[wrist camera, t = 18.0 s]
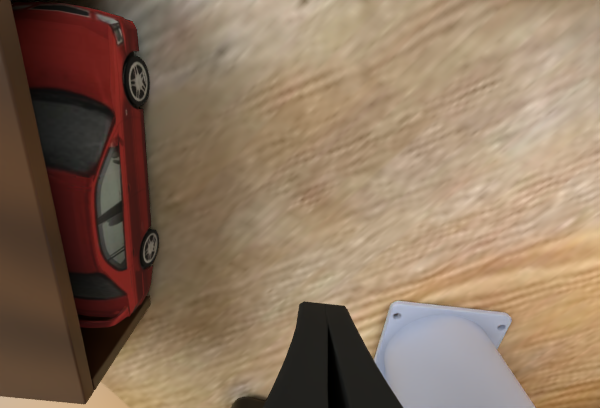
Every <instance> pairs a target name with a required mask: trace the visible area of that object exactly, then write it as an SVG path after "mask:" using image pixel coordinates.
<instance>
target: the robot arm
mask: <svg viewBox="0 0 600 408" xmlns="http://www.w3.org/2000/svg"><path fill="white" fill-rule="evenodd" d="M396 313H399V314H398V315H394V314H396ZM511 321H512V319H511V317H510V316H509V315H508V314H507V313H505V312H497V311H488V310H478V309H469V308H460V307H451V306H442V305H433V304H424V303H415V302H406V301H395V302H393V303H392V304H391V305H390V308H389V311H388V315H387V318H386V321H385V324H384V328H383V331H382V334H381V338H380V341H379V344H378V348H377V351H376V354H375V357H374V360H373V358H372V356H371V355H370V353H369V351H368V349H367V348H366V346H365V344H364V342H363V340H362V338H361V336H360V334H359V333H358V331H357V329H356V327H355V325H354V323H353V321H352V319H351V316H350V314H349V312H348V310H347V309H346V307H345V306H339V305H330V304H321V303H312V302H302V303H301V304H300V305H299V311H298V318H297V324H296V329H295V332H294V336H293V339H292V342H291V344H290V347H289V350H288V353H287V355H286V358H285V361H284V363H283V365H282V368H281V370H280V372H279V374H278V377H277V379H276V381H275V383H274V385H273V388H272V390H271V392H270V394H269V396H268V398H267V400H266V402H265V404H264V406H263V408H536V407H535V406H534V404H533V403H532V401H531V400H530V398H529V397H528V395H527V394H526V392H525V391H524V389H523V388H522V386H521V385H520V383H519V382H518V380H517V379H516V377H515V376H514V374H513V373H512V371H511V370H510V368H509V367H508V365H507V364H506V362H505V361H504V359H503V358H502V356H501V355H500V353H499V352H498V350H497V349H498V347H499V345H500V343H501V341H502V339H503V337H504V335H505V333H506V331H507V329H508V327H509V326H510V324H511ZM499 325H500V326H499Z"/></svg>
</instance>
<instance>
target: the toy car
mask: <svg viewBox="0 0 600 408" xmlns="http://www.w3.org/2000/svg"><path fill="white" fill-rule="evenodd" d="M12 10H13V15H14V19H15V24H16V29H17V33H18V38H19V43H20V47H21V52H22V57H23V61H24V66H25V71H26V76H27V80H28V85H29V90H30V94H31V99H32V104H33V108H34V113H35V118H36V122H37V127H38V132H39V136H40V141H41V146H42V151H43V155H44V160H45V165H46V169H47V174H48V179H49V183H50V188H51V193H52V197H53V202H54V207H55V211H56V216H57V221H58V226H59V230H60V235H61V240H62V244H63V249H64V254H65V258H66V263H67V268H68V272H69V277H70V282H71V286H72V291H73V296H74V301H75V305H76V310H77V314H80V315H86V316H96V317H114V318H112V319H110V320H107V321H83V320H79V324H80V327H83V328H103V327H111V326H114V325H116V324H118V323H119V322H121V321H122V320H123V319H125V318H126V317H130V315H131V313H133V312H134V311H135V310H136V308H137V307H138V305H141V304H142V302H143V300H144V299H145V297H146V295H147V293H148V292H149V289H150V285H151V278H152V268H153V265H152V266H151V267H150V265H151V264H152V263H153V261H154V259H155V257H156V255H157V251H158V246H159V237H158V233H157V231H156V230H154V229H150V228H149V227H150V226H151V215H150V201H149V186H148V172H147V157H146V143H145V128H144V114H143V109H139V106H141V105H143V104H144V103H145V102H146V100H147V97H148V94H149V75H148V70H147V67H146V65H145V63H144V61H143V60H142V59H141V58H139V57H136V56H134V51H139V47H138V37H137V29H136V27H135V25H134V23H133V21H130V20H126V19H124V18H123V17H121V16H117V15H114V14H110V13H107V12H103V11H100V10H96V9H92V8H87V7H82V6H77V5H72V4H66V3H51V2H14V3H13V4H12ZM149 267H150V268H149ZM148 268H149V269H148Z"/></svg>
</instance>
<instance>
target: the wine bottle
mask: <svg viewBox="0 0 600 408" xmlns="http://www.w3.org/2000/svg"><path fill="white" fill-rule="evenodd" d="M265 402H266V401H262V400H258V399H254V398H250V397H242V398H239V399H237V400H236V401H235V402H234V403H233V405H232V407H231V408H263V406H264V404H265Z"/></svg>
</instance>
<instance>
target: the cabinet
mask: <svg viewBox="0 0 600 408" xmlns="http://www.w3.org/2000/svg"><path fill="white" fill-rule="evenodd" d="M149 306H150V296H148V295H146V297H145V299H144V300H143V302H142V304H141V305H138V307H137V308H136V310H135V311H134V312H133V313H131V315H130V317H126V318H125V319H123V320H122V321H121V322H119V323H118V324H116V325H114V326H111V327H103V328H83V327H80V324H79V320H83V321H107V320H110V319H112V318H114V317H96V316H86V315H80V314H77V310H76V305H75V301H74V296H73V291H72V286H71V282H70V277H69V272H68V268H67V263H66V258H65V254H64V249H63V244H62V240H61V235H60V230H59V226H58V221H57V216H56V211H55V207H54V202H53V197H52V193H51V188H50V183H49V179H48V174H47V169H46V165H45V160H44V155H43V151H42V146H41V141H40V136H39V132H38V127H37V122H36V118H35V113H34V108H33V104H32V99H31V94H30V90H29V85H28V80H27V76H26V71H25V66H24V61H23V57H22V52H21V47H20V43H19V38H18V33H17V29H16V24H15V19H14V15H13V10H12V5H11V1H10V0H0V396H5V397H15V398H26V399H35V400H46V401H57V402H67V403H77V404H86V403H87V401H88V400H89V398H90V397H91V395H92V393H93V392H94V390H95V389H96V388H97V386H98V384H99V383H100V381H101V380H102V378H103V377H104V375H105V374H106V372H107V371H108V369H109V368H110V366H111V364H112V363H113V361H114V360H115V358H116V357H117V355H118V354H119V352H120V351H121V349H122V348H123V346H124V344H125V343H126V341H127V340H128V338H129V337H130V335H131V334H132V332H133V331H134V329H135V328H136V326H137V325H138V323H139V321H140V320H141V318H142V317H143V315H144V314H145V312H146V311H147V309H148V308H149Z"/></svg>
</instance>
